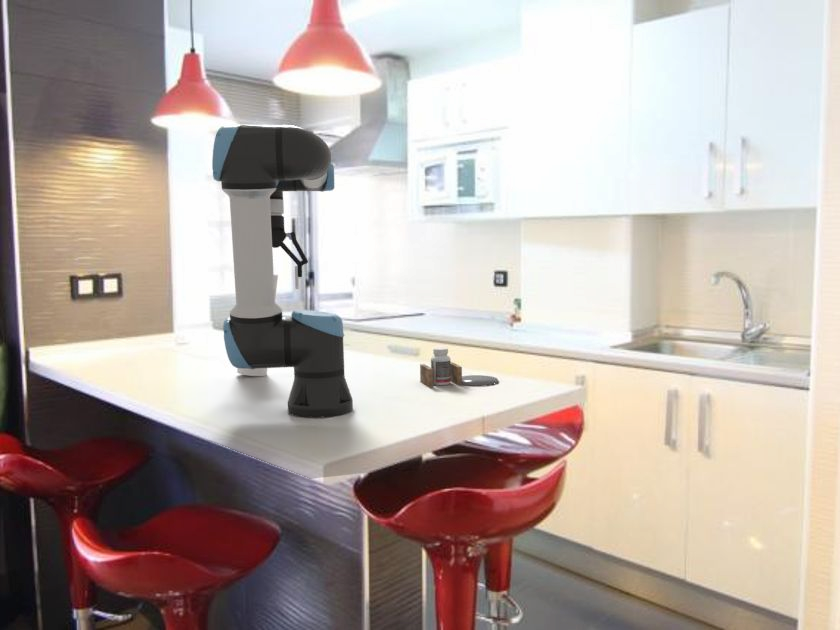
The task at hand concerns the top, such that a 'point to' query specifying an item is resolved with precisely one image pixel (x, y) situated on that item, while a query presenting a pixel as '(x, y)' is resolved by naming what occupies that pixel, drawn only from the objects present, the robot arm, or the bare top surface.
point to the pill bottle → (441, 366)
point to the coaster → (478, 380)
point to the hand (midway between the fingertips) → (273, 289)
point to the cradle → (427, 374)
